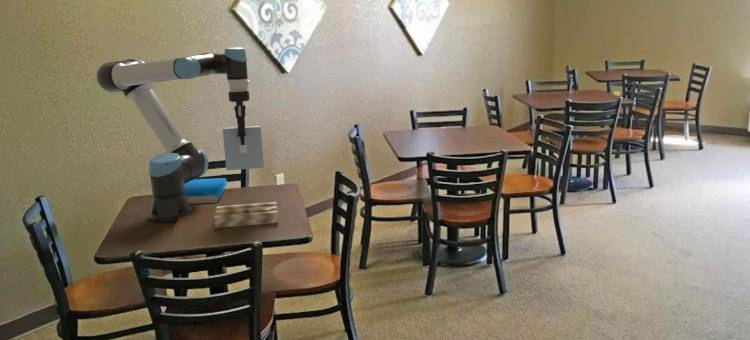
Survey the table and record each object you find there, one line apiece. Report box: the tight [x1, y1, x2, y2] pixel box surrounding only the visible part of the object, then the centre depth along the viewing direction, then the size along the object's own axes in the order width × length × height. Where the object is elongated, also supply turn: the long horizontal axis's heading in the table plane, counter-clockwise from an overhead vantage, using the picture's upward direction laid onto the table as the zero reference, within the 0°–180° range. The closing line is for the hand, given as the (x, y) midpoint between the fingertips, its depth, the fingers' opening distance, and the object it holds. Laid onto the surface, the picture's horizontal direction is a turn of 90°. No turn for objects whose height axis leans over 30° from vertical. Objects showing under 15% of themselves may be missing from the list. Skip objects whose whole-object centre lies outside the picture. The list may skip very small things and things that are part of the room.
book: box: [184, 177, 228, 205], centre depth 257 cm, size 17×4×25 cm
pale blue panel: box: [222, 125, 265, 171], centre depth 229 cm, size 14×2×16 cm, turn 101°
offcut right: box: [249, 207, 272, 213], centre depth 218 cm, size 8×2×4 cm, turn 101°
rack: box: [213, 201, 279, 229], centre depth 220 cm, size 22×12×6 cm, turn 101°
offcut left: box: [217, 208, 244, 216], centre depth 216 cm, size 9×2×5 cm, turn 100°
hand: (243, 151), depth 229 cm, fingers closed on pale blue panel, 2 cm apart
